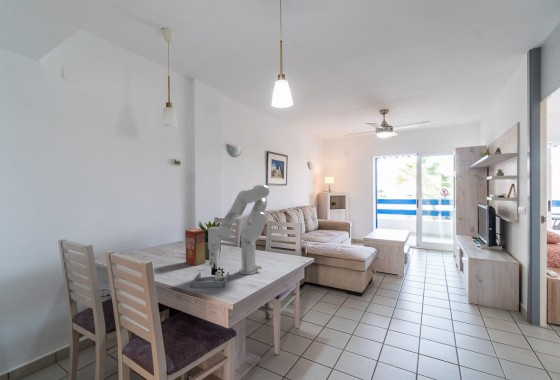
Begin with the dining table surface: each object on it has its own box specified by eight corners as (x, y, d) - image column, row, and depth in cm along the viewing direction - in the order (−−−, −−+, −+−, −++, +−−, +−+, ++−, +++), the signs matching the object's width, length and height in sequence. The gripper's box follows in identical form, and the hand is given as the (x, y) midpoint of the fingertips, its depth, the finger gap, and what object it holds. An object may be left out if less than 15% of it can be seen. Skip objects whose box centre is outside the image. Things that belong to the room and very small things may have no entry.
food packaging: (184, 262, 197) (184, 230, 197) (195, 260, 204) (195, 228, 204) (195, 266, 189) (195, 231, 189) (206, 263, 196) (205, 230, 196)
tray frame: (229, 276, 166) (229, 272, 166) (224, 287, 149) (224, 281, 149) (199, 277, 165) (199, 272, 165) (191, 287, 148) (191, 282, 148)
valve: (224, 284, 154) (224, 277, 165) (224, 273, 154) (224, 266, 165) (212, 284, 152) (214, 277, 164) (212, 273, 152) (214, 267, 164)
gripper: (217, 248, 159) (217, 278, 159) (222, 243, 174) (222, 271, 174) (205, 248, 159) (205, 278, 159) (211, 243, 173) (211, 271, 174)
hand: (214, 274), depth 166 cm, fingers closed
